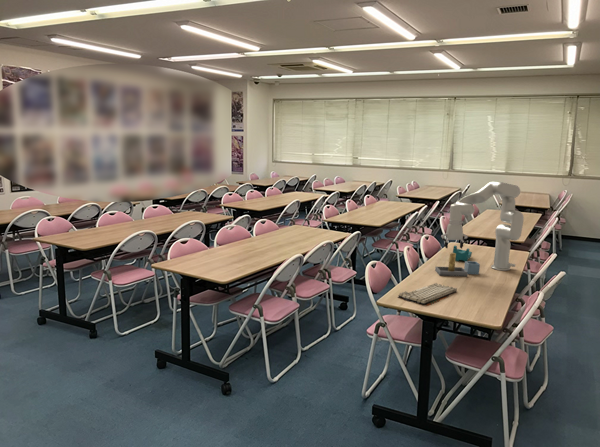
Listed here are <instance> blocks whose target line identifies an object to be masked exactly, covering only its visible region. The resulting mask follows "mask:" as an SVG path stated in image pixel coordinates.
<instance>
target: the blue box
mask: <svg viewBox="0 0 600 447" xmlns="http://www.w3.org/2000/svg"><path fill="white" fill-rule="evenodd" d="M463 266H464V268H463V269H464V270H466V271H467V272H468V273H467V275H480V268H481V267H480V266H481V264H480V263H479V262H478V261H476V260H475V261H472V260H467V261H464V265H463Z"/></svg>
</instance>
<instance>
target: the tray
mask: <svg viewBox="0 0 600 447" xmlns="http://www.w3.org/2000/svg"><path fill="white" fill-rule="evenodd" d="M434 271H435V273H437V275H438V276H439V277H464V278H465V277H467V278H468V274H467V273H468V272H467V271H466V270H464V268H463V267H461V266H459V267H458V266H457V267H456V266H455V269H454V271H448V266H436V265H435V269H434Z"/></svg>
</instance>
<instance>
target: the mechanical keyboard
mask: <svg viewBox="0 0 600 447" xmlns="http://www.w3.org/2000/svg"><path fill="white" fill-rule="evenodd" d="M457 292H458V288H457V287H453V286H448V285H444V284H443V285H442V284H440V283H439V284H438V283H437V282H435V283H433V284H432V283H431V284H429V285H427V286H423V287H421V288H416V289H414V290H412V291H409V292H408V291H402V292H400V293H399V294H398V296H397V299H400V300H404V301H406V302H411V303H413V304H414V303H415V304H416V305H417V304H418V305H420V306H427V307H429V306H431V305H433V304H436V303H438V302H441V301H442V300H444V299H446V298H448V297H449V296H452V295H454V294H456V293H457Z"/></svg>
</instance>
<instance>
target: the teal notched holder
mask: <svg viewBox="0 0 600 447" xmlns="http://www.w3.org/2000/svg"><path fill="white" fill-rule="evenodd" d="M452 253H456V258H455V262H459V261H463V262H465V261H469V259H470V258H471V257H472V255H473V252H472V251H470V248H468V247H467V248H466V250H465V249H461V248H458V247H457V245H454V246H453V250H452Z"/></svg>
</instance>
